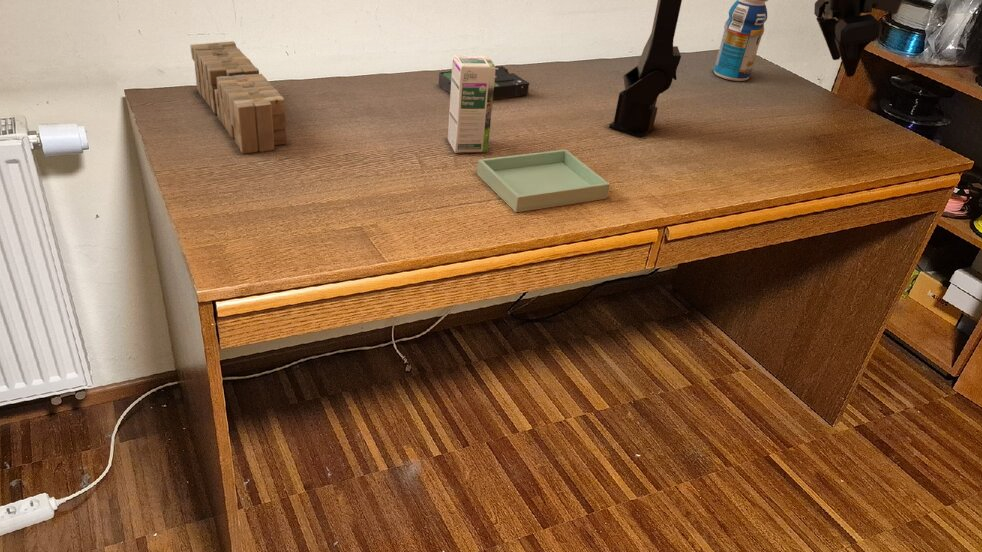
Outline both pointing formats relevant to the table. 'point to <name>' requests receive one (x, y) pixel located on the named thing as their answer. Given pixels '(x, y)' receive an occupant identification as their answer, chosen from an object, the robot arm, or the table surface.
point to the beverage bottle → (741, 39)
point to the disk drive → (495, 83)
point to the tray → (542, 180)
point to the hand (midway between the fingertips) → (843, 67)
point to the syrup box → (471, 103)
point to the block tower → (240, 96)
